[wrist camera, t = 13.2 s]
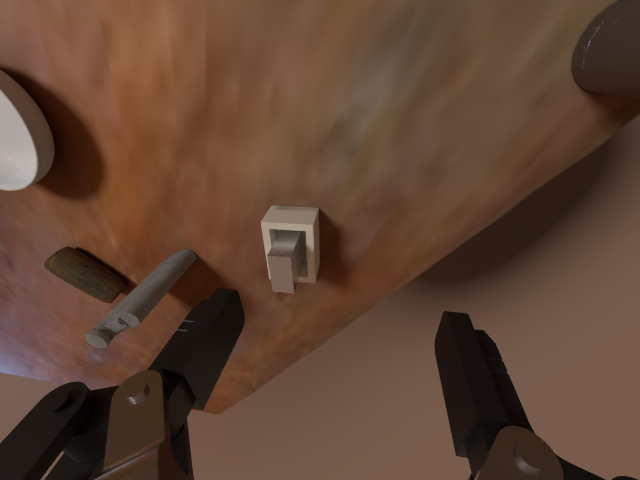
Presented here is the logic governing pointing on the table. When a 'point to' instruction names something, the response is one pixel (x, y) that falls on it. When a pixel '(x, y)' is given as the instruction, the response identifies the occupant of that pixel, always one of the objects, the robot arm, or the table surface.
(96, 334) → the hip flask
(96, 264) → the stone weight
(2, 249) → the table surface
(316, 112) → the table surface
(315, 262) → the hollow off-white angular block
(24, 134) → the serving bowl
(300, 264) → the tall brushed metal block
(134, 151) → the table surface
